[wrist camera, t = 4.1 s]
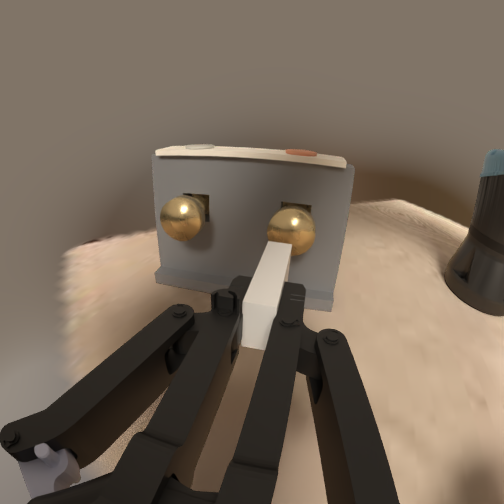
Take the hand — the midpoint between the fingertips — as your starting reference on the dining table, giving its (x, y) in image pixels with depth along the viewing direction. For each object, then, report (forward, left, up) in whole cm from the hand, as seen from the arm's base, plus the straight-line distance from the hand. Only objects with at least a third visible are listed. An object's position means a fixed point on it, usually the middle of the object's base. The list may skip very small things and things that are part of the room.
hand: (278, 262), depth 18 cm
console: (-9, -12, -11) cm, 18 cm away
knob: (-5, -16, -3) cm, 17 cm away
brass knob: (-11, -6, -3) cm, 13 cm away
